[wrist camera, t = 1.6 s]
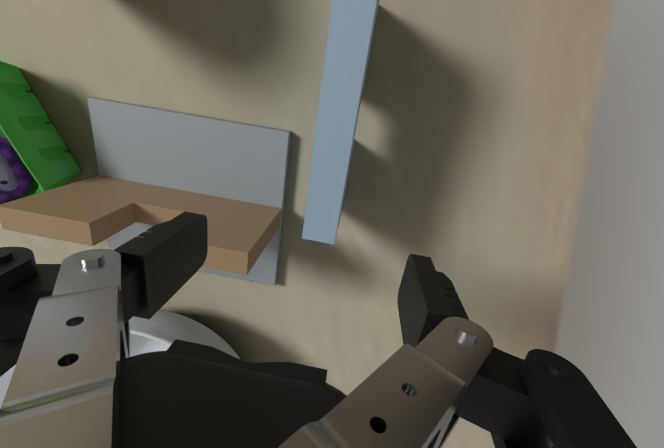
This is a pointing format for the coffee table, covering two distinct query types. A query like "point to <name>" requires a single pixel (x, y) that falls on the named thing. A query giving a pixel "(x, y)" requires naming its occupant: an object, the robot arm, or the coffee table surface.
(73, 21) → the coffee table surface
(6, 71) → the fruit basket
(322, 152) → the slotted plate
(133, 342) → the serving bowl
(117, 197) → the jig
